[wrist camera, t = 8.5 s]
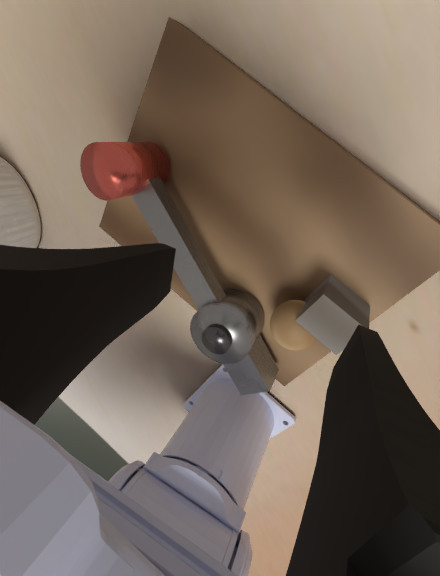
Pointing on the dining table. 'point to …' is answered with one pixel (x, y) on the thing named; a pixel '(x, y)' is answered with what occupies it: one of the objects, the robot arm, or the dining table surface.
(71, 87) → the dining table surface
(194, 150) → the board
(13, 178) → the ramekin
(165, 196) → the lever
